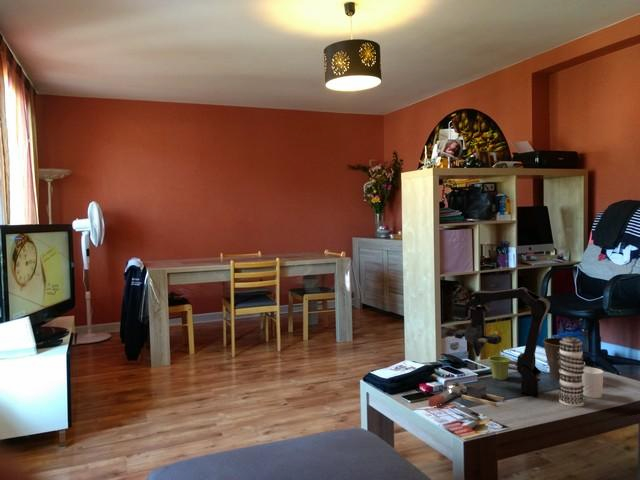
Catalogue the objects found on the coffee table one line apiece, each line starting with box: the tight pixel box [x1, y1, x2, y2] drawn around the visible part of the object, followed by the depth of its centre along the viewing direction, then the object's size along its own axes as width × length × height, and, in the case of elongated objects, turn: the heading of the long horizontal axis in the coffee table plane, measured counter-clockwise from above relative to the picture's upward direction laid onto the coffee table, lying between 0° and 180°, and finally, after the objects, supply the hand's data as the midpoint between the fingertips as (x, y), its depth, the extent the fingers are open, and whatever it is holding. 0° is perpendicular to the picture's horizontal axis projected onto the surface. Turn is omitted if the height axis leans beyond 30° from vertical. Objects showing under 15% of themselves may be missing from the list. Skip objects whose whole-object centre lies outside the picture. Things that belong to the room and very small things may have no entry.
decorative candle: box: [558, 336, 585, 408], centre depth 193 cm, size 9×9×25 cm
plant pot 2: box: [543, 337, 564, 380], centre depth 222 cm, size 15×15×16 cm
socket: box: [465, 382, 487, 400], centre depth 201 cm, size 6×5×5 cm
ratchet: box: [428, 381, 467, 407], centre depth 200 cm, size 14×22×4 cm, turn 137°
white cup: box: [582, 367, 604, 399], centre depth 201 cm, size 8×8×10 cm
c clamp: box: [508, 360, 517, 371], centre depth 238 cm, size 20×17×3 cm
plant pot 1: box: [488, 355, 512, 381], centre depth 224 cm, size 9×9×9 cm
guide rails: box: [460, 393, 505, 407], centre depth 200 cm, size 14×8×1 cm, turn 47°
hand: (477, 356), depth 216 cm, fingers closed
